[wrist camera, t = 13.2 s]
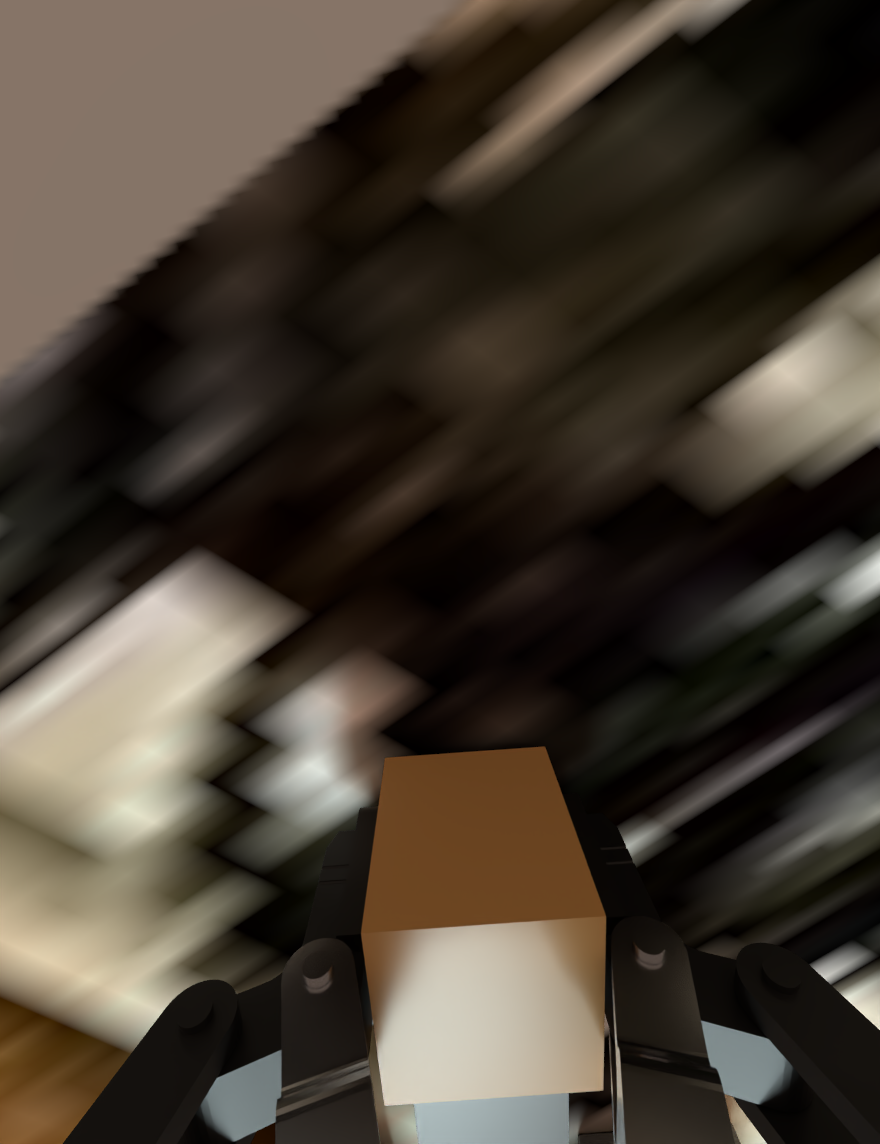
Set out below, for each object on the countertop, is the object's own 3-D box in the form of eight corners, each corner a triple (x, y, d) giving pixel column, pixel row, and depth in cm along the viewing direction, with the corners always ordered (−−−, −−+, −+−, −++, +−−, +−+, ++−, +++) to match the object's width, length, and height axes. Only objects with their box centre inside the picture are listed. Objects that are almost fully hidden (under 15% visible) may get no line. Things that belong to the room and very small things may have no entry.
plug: (552, 1144, 17) (597, 1409, 12) (428, 1152, 17) (427, 1420, 13) (545, 746, 13) (605, 916, 9) (385, 757, 13) (360, 932, 9)
